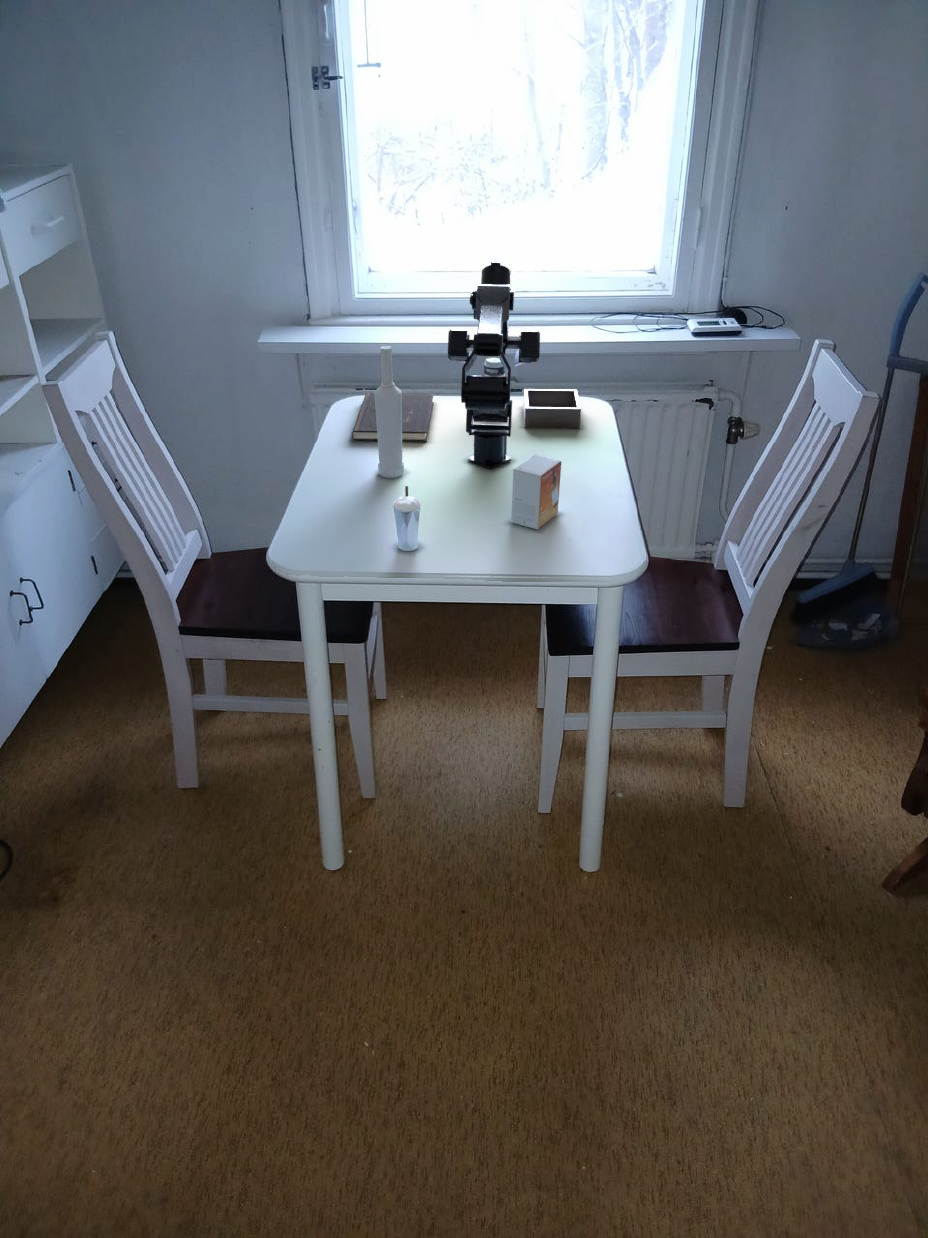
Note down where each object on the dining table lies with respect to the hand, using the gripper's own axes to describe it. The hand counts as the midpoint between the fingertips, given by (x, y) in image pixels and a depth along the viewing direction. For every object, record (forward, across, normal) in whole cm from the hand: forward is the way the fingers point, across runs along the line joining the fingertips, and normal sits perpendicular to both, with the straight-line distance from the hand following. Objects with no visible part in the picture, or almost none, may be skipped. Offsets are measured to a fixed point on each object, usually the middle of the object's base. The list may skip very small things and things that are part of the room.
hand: (493, 364), depth 196 cm
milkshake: (-30, +13, +49) cm, 59 cm away
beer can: (+15, 0, +4) cm, 16 cm away
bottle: (-9, +20, +28) cm, 36 cm away
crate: (+13, -13, +6) cm, 19 cm away
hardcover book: (+10, +22, +9) cm, 26 cm away
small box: (-22, -9, +41) cm, 47 cm away
